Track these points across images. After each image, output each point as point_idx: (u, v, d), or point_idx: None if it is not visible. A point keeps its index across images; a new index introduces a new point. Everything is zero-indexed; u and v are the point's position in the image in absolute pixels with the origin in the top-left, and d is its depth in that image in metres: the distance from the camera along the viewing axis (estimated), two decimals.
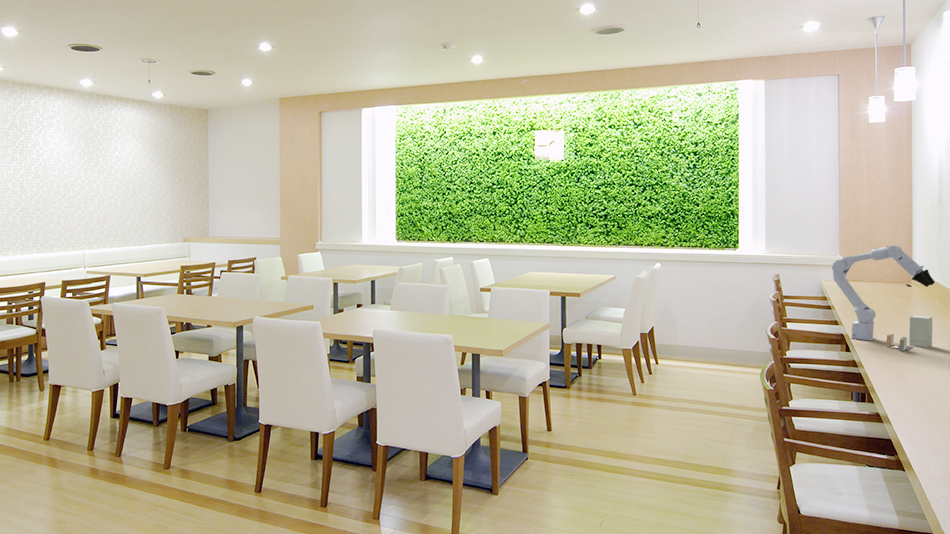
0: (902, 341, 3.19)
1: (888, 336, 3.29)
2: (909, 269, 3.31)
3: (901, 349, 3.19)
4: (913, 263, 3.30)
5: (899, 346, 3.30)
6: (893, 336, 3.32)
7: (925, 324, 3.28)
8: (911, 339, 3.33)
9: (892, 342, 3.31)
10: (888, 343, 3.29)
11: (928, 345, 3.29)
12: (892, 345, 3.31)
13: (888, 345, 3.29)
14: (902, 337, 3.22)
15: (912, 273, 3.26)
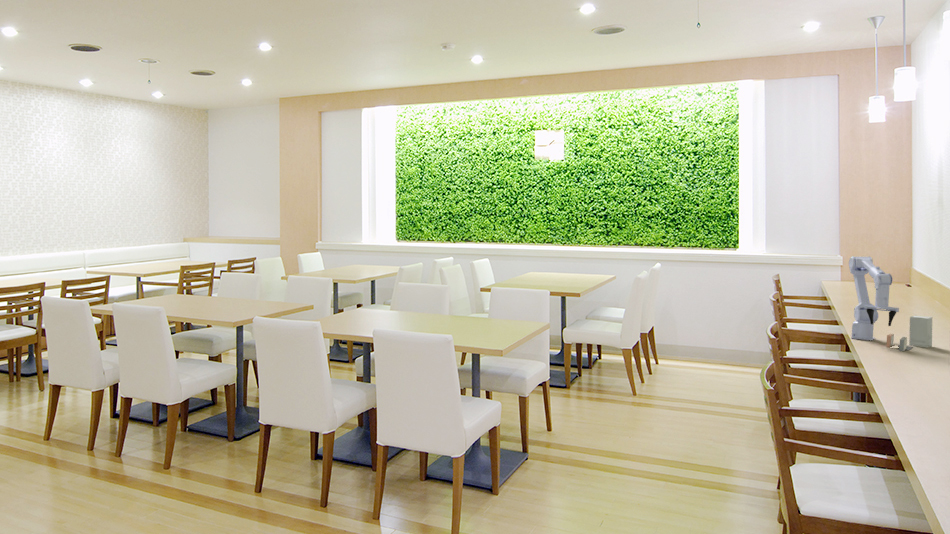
0: (902, 341, 3.19)
1: (888, 336, 3.29)
2: None
3: (901, 349, 3.19)
4: (877, 300, 3.32)
5: (899, 346, 3.30)
6: (893, 336, 3.32)
7: (925, 324, 3.28)
8: (911, 339, 3.33)
9: (892, 342, 3.31)
10: (888, 343, 3.29)
11: (928, 345, 3.29)
12: (892, 345, 3.31)
13: (888, 345, 3.29)
14: (902, 337, 3.22)
15: None
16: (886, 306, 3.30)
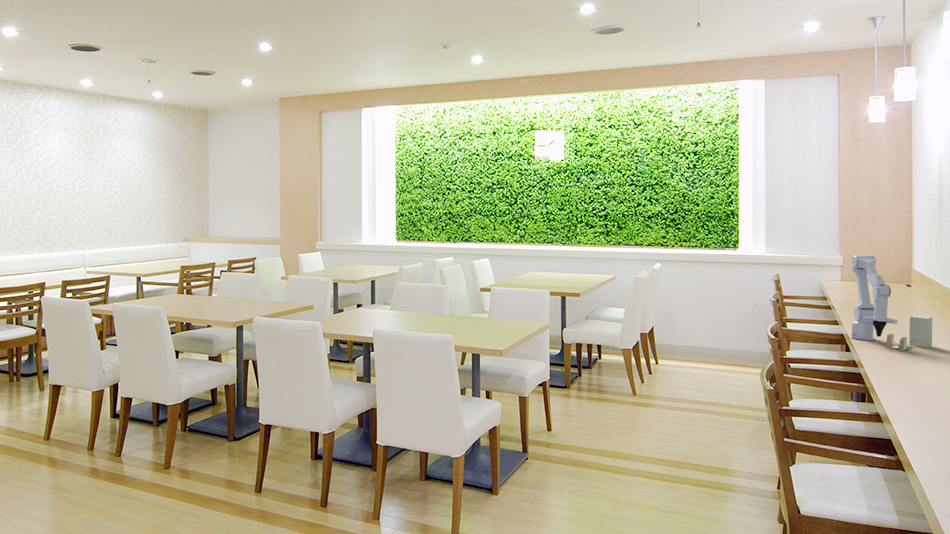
0: (902, 341, 3.19)
1: (888, 336, 3.29)
2: None
3: (901, 349, 3.19)
4: (875, 312, 3.33)
5: (899, 346, 3.30)
6: (893, 336, 3.32)
7: (925, 324, 3.28)
8: (911, 339, 3.33)
9: (892, 342, 3.31)
10: (888, 343, 3.29)
11: (928, 345, 3.29)
12: (892, 345, 3.31)
13: (888, 345, 3.29)
14: (902, 337, 3.22)
15: None
16: (884, 318, 3.31)
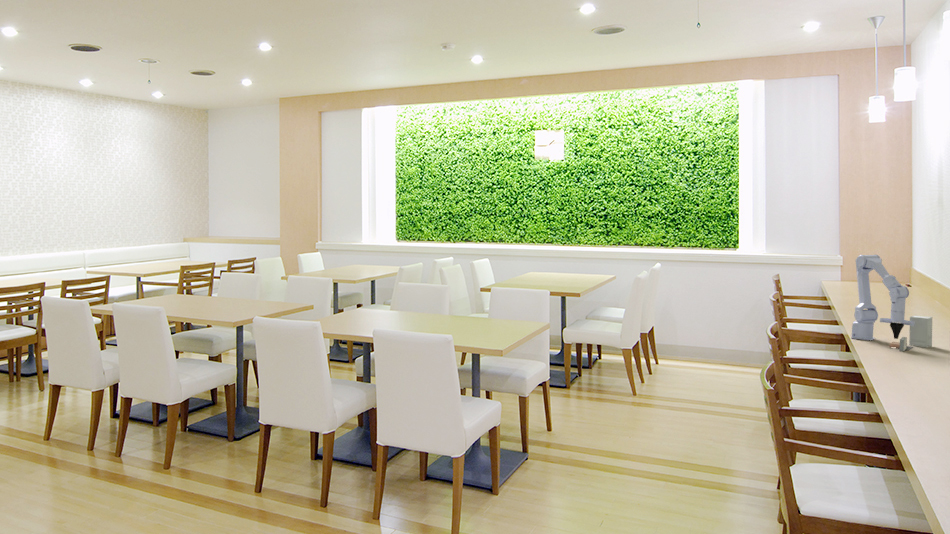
0: (902, 341, 3.19)
1: None
2: None
3: (901, 349, 3.19)
4: (892, 313, 3.28)
5: None
6: None
7: (925, 324, 3.28)
8: (911, 339, 3.33)
9: None
10: (894, 345, 3.27)
11: (928, 345, 3.29)
12: None
13: (892, 345, 3.28)
14: (902, 337, 3.22)
15: None
16: (902, 319, 3.26)
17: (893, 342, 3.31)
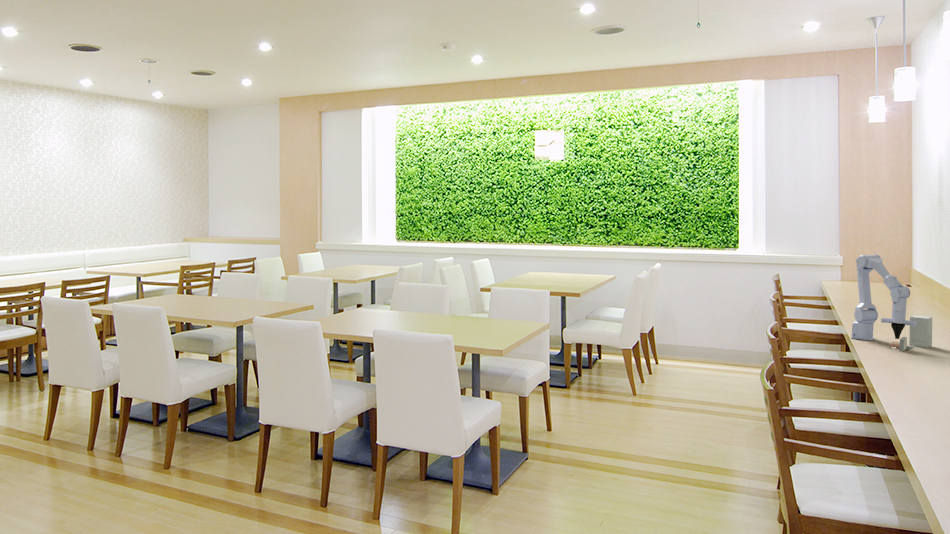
0: (902, 341, 3.19)
1: None
2: None
3: (901, 349, 3.19)
4: (893, 313, 3.27)
5: None
6: None
7: (925, 324, 3.28)
8: (911, 339, 3.33)
9: None
10: (894, 345, 3.27)
11: (928, 345, 3.29)
12: None
13: (892, 345, 3.28)
14: (902, 337, 3.22)
15: None
16: (903, 320, 3.25)
17: (893, 342, 3.31)
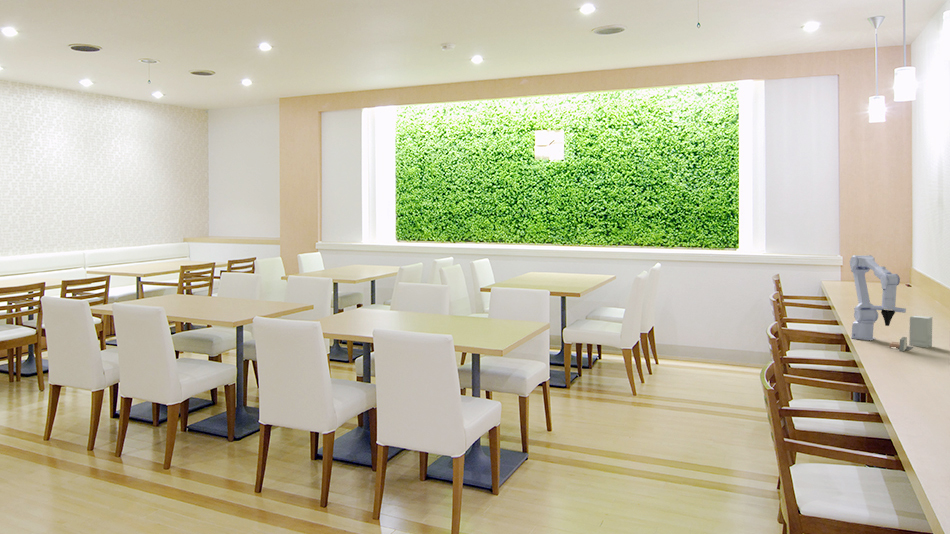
0: (902, 341, 3.19)
1: None
2: None
3: (901, 349, 3.19)
4: (883, 301, 3.29)
5: None
6: None
7: (925, 324, 3.28)
8: (911, 339, 3.33)
9: None
10: (894, 345, 3.27)
11: (928, 345, 3.29)
12: None
13: (892, 345, 3.28)
14: (902, 337, 3.22)
15: None
16: (893, 307, 3.27)
17: (893, 342, 3.31)
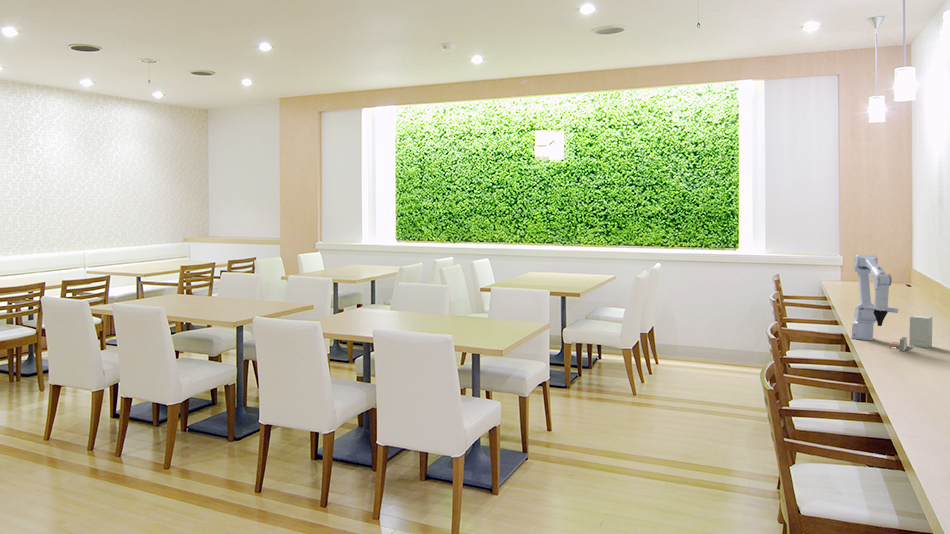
0: (902, 341, 3.19)
1: None
2: None
3: (901, 349, 3.19)
4: (876, 301, 3.29)
5: None
6: None
7: (925, 324, 3.28)
8: (911, 339, 3.33)
9: None
10: (894, 345, 3.27)
11: (928, 345, 3.29)
12: None
13: (892, 345, 3.28)
14: (902, 337, 3.22)
15: None
16: (885, 307, 3.27)
17: (893, 342, 3.31)
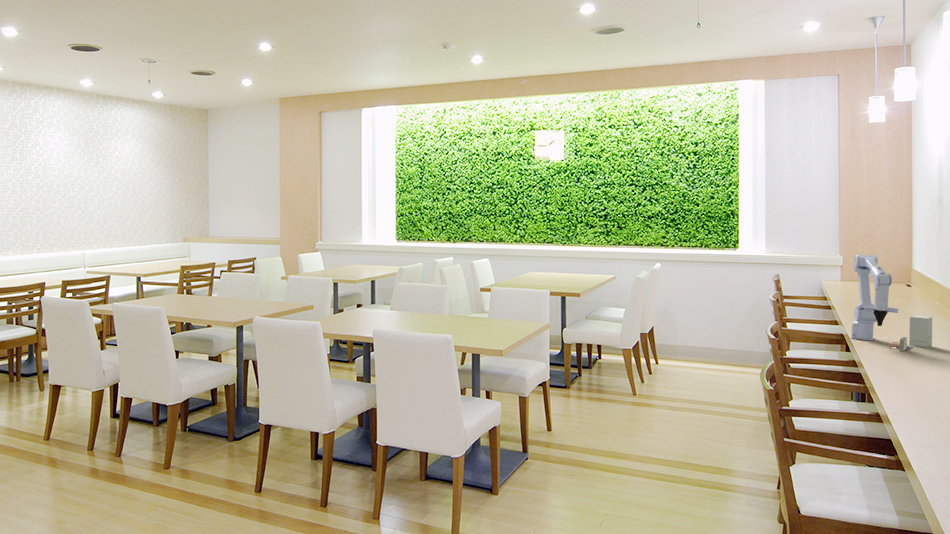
0: (902, 341, 3.19)
1: None
2: None
3: (901, 349, 3.19)
4: (876, 301, 3.29)
5: None
6: None
7: (925, 324, 3.28)
8: (911, 339, 3.33)
9: None
10: (894, 345, 3.27)
11: (928, 345, 3.29)
12: None
13: (892, 345, 3.28)
14: (902, 337, 3.22)
15: None
16: (885, 307, 3.27)
17: (893, 342, 3.31)
